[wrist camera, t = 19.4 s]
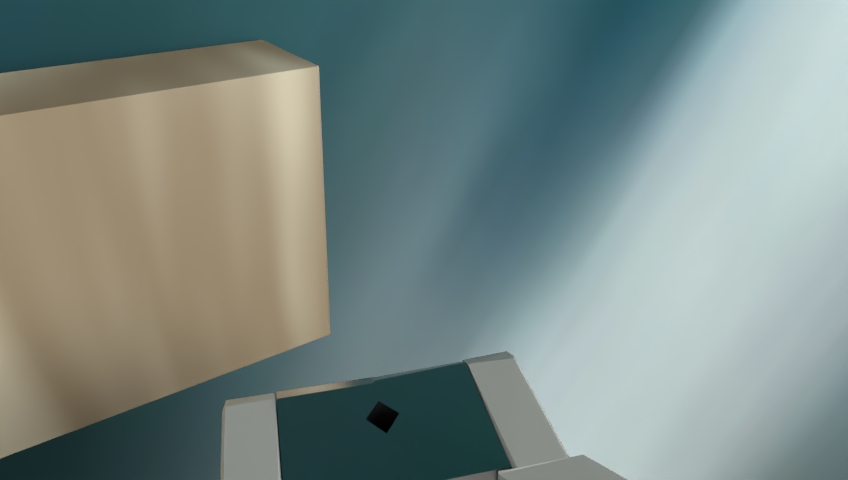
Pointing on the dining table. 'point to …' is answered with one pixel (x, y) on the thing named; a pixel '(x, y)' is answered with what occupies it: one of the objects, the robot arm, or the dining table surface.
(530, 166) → the dining table surface
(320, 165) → the tan rectangular block
